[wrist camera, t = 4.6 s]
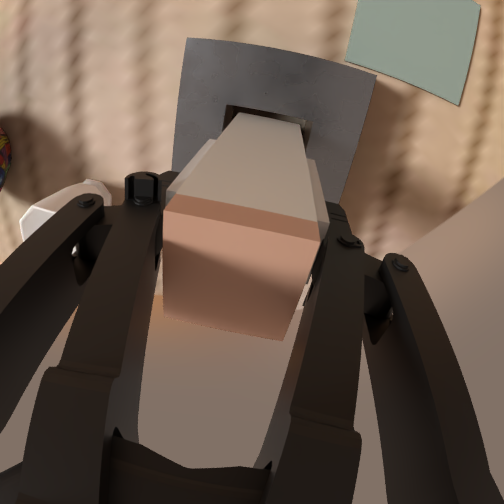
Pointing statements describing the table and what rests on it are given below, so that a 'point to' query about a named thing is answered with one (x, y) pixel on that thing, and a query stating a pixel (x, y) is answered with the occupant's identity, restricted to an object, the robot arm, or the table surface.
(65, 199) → the cup
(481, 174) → the table surface
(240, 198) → the plug
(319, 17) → the table surface
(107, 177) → the table surface
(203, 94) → the grey square holder
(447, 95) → the mat
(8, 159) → the egg
